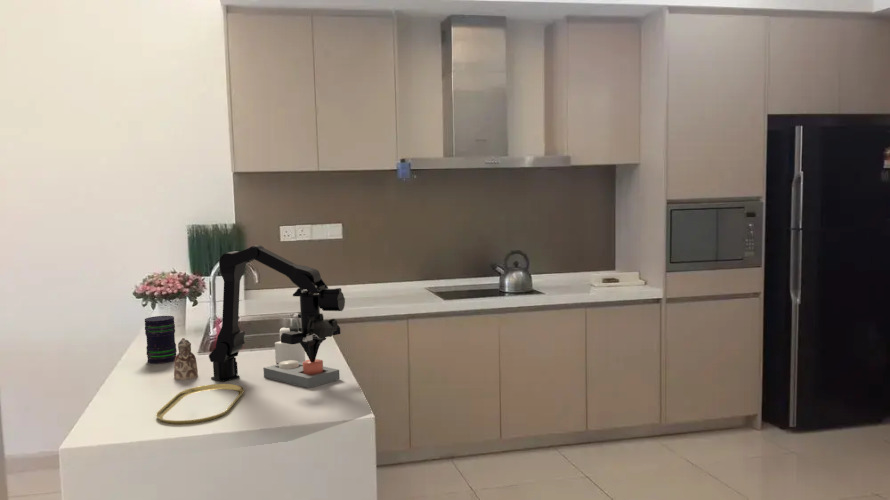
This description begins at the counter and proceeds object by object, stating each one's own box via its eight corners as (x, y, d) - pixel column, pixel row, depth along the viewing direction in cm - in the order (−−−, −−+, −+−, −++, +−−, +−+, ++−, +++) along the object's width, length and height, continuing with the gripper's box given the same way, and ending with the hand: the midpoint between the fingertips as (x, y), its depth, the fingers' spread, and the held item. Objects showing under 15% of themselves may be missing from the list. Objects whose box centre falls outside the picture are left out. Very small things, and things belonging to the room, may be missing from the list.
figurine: (173, 380, 243) (170, 342, 242) (175, 375, 250) (172, 338, 248) (197, 378, 245) (195, 340, 244) (198, 372, 252) (196, 336, 250)
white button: (287, 378, 240) (286, 365, 239) (275, 375, 244) (275, 363, 243) (303, 374, 244) (302, 362, 244) (291, 371, 248) (290, 359, 248)
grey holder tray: (308, 388, 228) (307, 378, 228) (264, 377, 243) (263, 367, 243) (339, 379, 237) (339, 369, 237) (295, 369, 252) (294, 360, 252)
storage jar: (167, 364, 265) (164, 320, 264) (141, 363, 267) (138, 320, 266) (182, 357, 275) (179, 315, 273) (157, 357, 277) (154, 315, 275)
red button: (311, 378, 232) (311, 364, 231) (299, 375, 236) (298, 362, 235) (327, 373, 236) (326, 360, 236) (314, 371, 240) (314, 358, 240)
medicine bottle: (291, 359, 266) (290, 324, 265) (305, 361, 262) (303, 326, 261) (275, 363, 261) (273, 328, 260) (289, 366, 256) (287, 330, 255)
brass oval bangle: (146, 428, 197) (145, 422, 197) (187, 390, 232) (187, 385, 232) (220, 425, 198) (220, 419, 198) (250, 387, 233) (250, 382, 232)
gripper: (301, 318, 222) (304, 371, 223) (351, 308, 236) (353, 359, 237) (278, 314, 229) (281, 366, 231) (327, 305, 243) (329, 354, 244)
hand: (312, 361), depth 236 cm, fingers closed, pressing on red button
